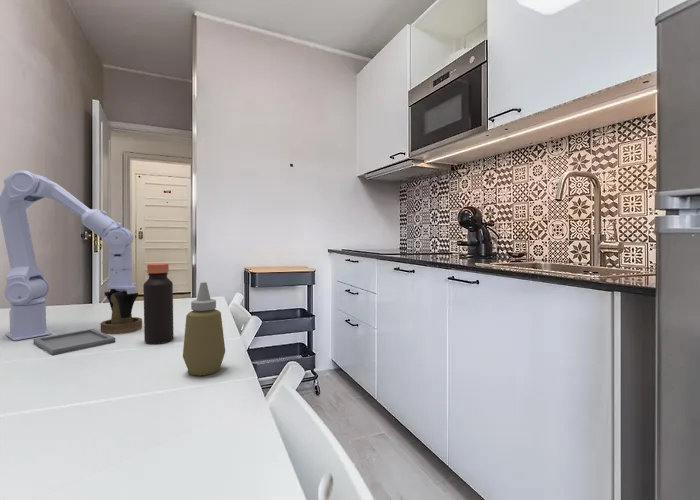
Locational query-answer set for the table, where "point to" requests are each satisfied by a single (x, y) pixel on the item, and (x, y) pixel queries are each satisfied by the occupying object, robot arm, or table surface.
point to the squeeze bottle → (203, 335)
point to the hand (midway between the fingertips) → (121, 316)
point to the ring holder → (121, 326)
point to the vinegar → (158, 305)
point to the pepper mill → (118, 313)
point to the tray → (73, 341)
